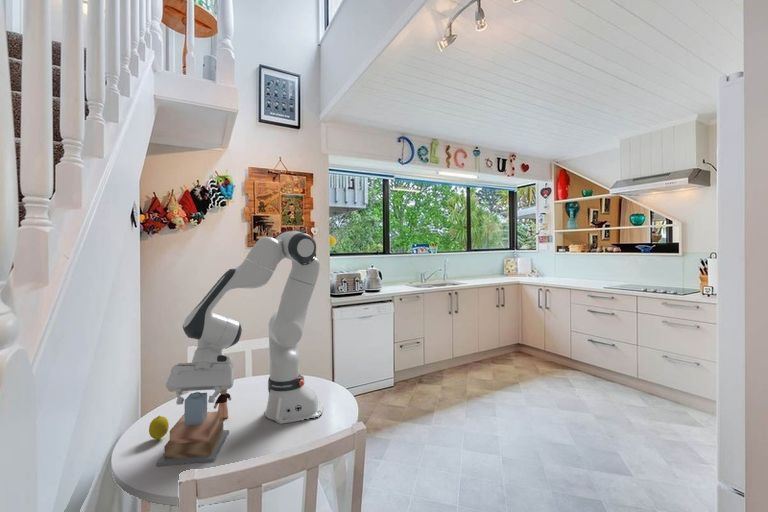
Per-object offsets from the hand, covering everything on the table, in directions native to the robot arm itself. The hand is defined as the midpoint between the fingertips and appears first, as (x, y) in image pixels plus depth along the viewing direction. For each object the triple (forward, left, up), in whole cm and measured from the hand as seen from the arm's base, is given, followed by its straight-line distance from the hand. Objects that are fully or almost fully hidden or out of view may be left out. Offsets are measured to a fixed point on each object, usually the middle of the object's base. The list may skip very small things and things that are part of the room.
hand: (195, 403), depth 109 cm
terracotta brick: (0, -1, -14) cm, 14 cm away
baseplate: (0, -1, -15) cm, 15 cm away
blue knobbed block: (0, -1, -6) cm, 6 cm away
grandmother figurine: (-3, -20, -15) cm, 25 cm away
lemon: (+14, -7, -15) cm, 22 cm away
